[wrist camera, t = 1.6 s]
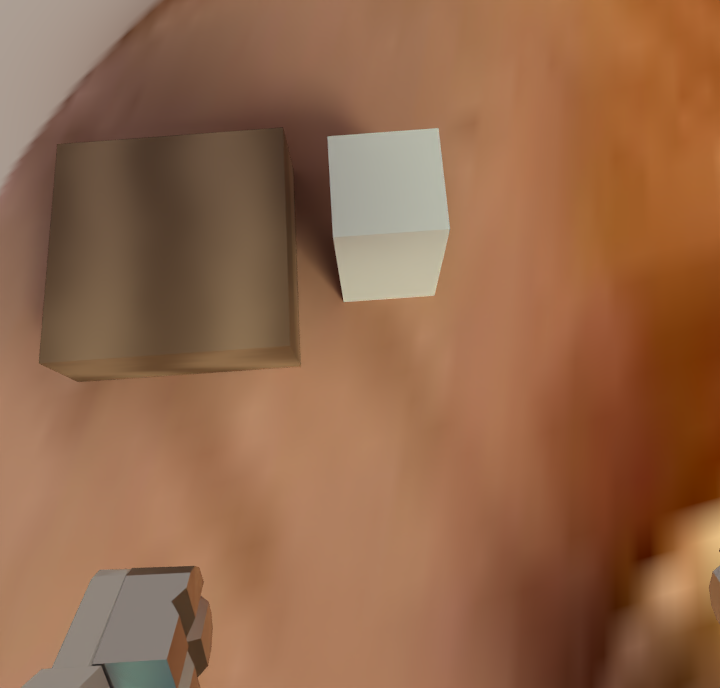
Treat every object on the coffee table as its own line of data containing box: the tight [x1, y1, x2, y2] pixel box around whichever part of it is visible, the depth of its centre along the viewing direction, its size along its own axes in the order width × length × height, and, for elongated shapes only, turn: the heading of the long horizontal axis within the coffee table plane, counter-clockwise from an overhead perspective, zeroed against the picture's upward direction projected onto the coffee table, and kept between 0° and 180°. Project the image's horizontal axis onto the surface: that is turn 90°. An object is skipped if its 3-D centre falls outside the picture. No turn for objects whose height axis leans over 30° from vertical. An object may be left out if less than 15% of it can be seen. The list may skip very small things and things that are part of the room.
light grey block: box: [327, 128, 450, 302], centre depth 31 cm, size 5×5×8 cm
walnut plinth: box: [39, 127, 301, 382], centre depth 33 cm, size 12×12×4 cm
